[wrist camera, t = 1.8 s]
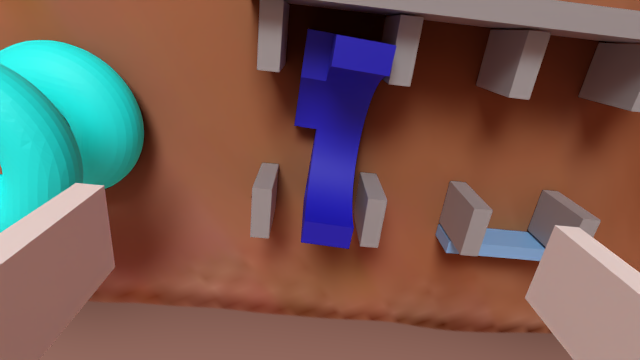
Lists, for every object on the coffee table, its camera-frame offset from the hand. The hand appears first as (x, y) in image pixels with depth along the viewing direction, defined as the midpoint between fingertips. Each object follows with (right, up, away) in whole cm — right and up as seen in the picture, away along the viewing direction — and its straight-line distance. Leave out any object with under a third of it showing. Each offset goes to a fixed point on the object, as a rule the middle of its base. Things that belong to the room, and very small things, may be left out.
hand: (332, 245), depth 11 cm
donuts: (-17, +6, +14) cm, 23 cm away
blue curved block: (0, +6, +15) cm, 16 cm away
